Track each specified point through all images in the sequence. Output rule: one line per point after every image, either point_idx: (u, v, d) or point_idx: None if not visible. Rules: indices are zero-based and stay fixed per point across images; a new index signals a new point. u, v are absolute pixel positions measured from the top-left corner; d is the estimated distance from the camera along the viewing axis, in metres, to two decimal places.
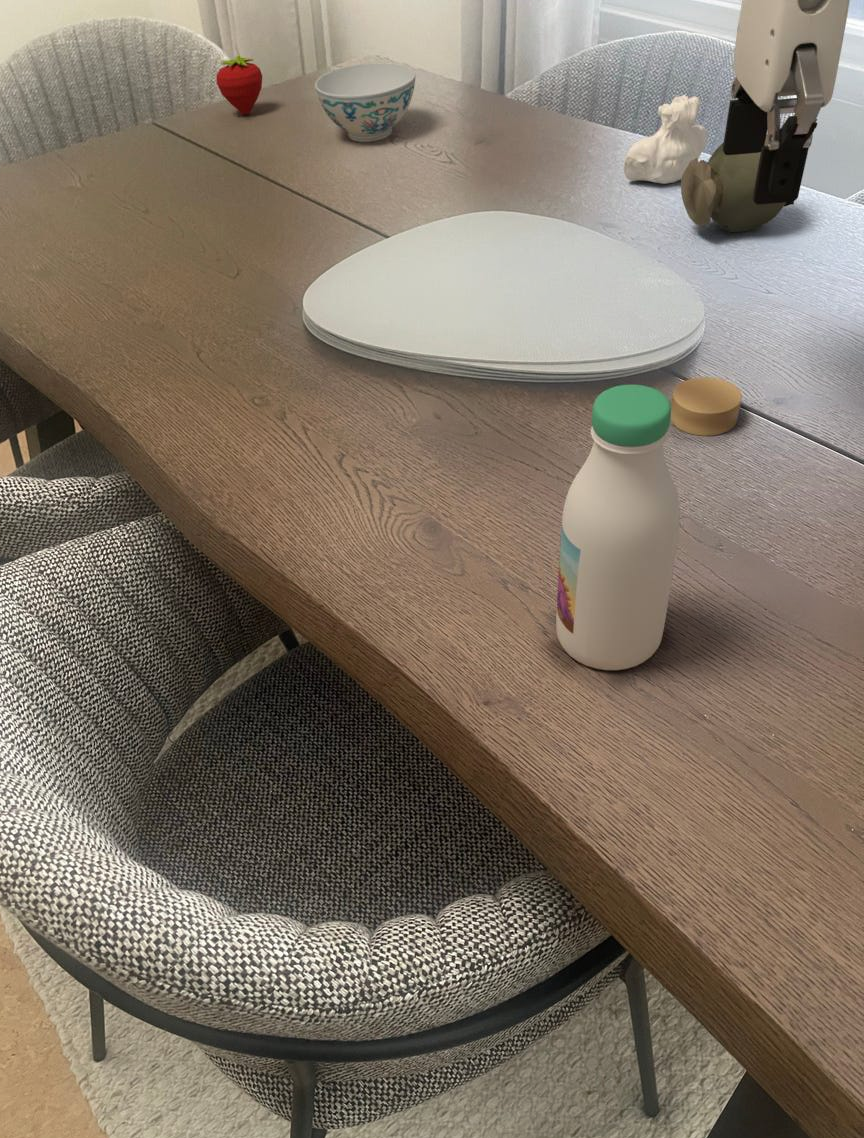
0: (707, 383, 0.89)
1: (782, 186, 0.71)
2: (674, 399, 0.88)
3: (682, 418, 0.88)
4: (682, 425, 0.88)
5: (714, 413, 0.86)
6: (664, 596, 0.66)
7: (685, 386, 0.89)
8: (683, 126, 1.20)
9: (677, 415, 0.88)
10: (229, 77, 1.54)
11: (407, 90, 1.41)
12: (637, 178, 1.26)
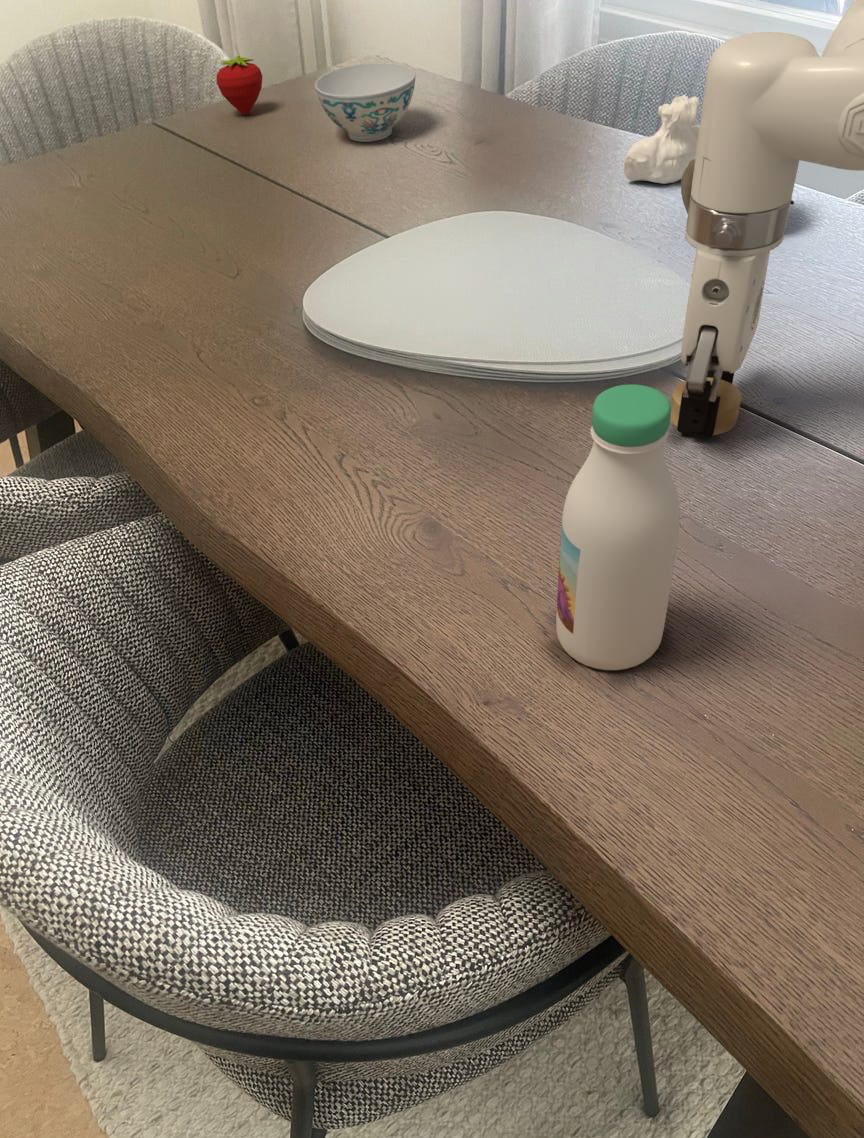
0: None
1: (695, 425, 0.86)
2: (674, 399, 0.88)
3: None
4: None
5: None
6: (664, 596, 0.66)
7: None
8: (683, 126, 1.20)
9: (677, 415, 0.88)
10: (229, 77, 1.54)
11: (407, 90, 1.41)
12: (637, 178, 1.26)
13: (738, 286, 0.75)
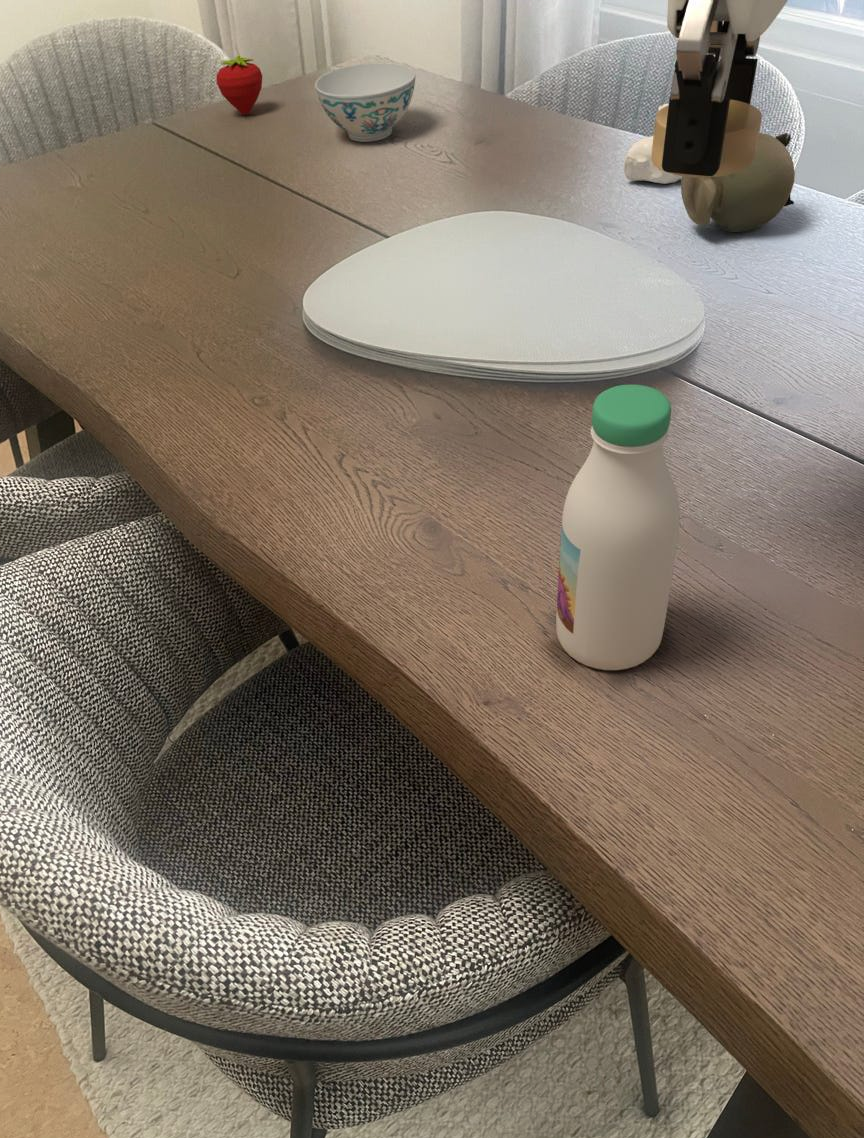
0: None
1: (690, 151, 0.55)
2: (657, 122, 0.57)
3: None
4: None
5: None
6: (664, 596, 0.66)
7: None
8: None
9: (661, 147, 0.57)
10: (229, 77, 1.54)
11: (407, 90, 1.41)
12: (637, 178, 1.26)
13: None
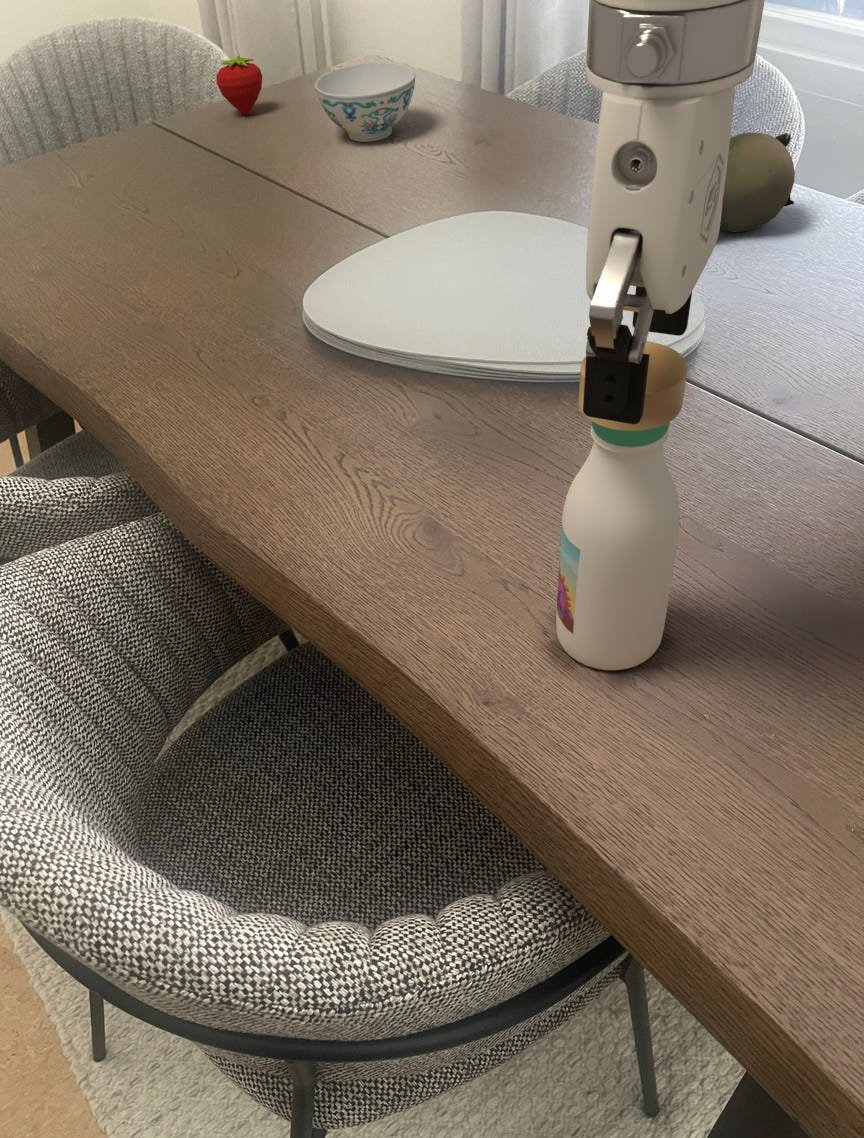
0: None
1: (610, 403, 0.52)
2: (582, 374, 0.56)
3: None
4: None
5: None
6: (664, 596, 0.66)
7: None
8: None
9: None
10: (229, 77, 1.54)
11: (407, 90, 1.41)
12: None
13: (673, 153, 0.43)
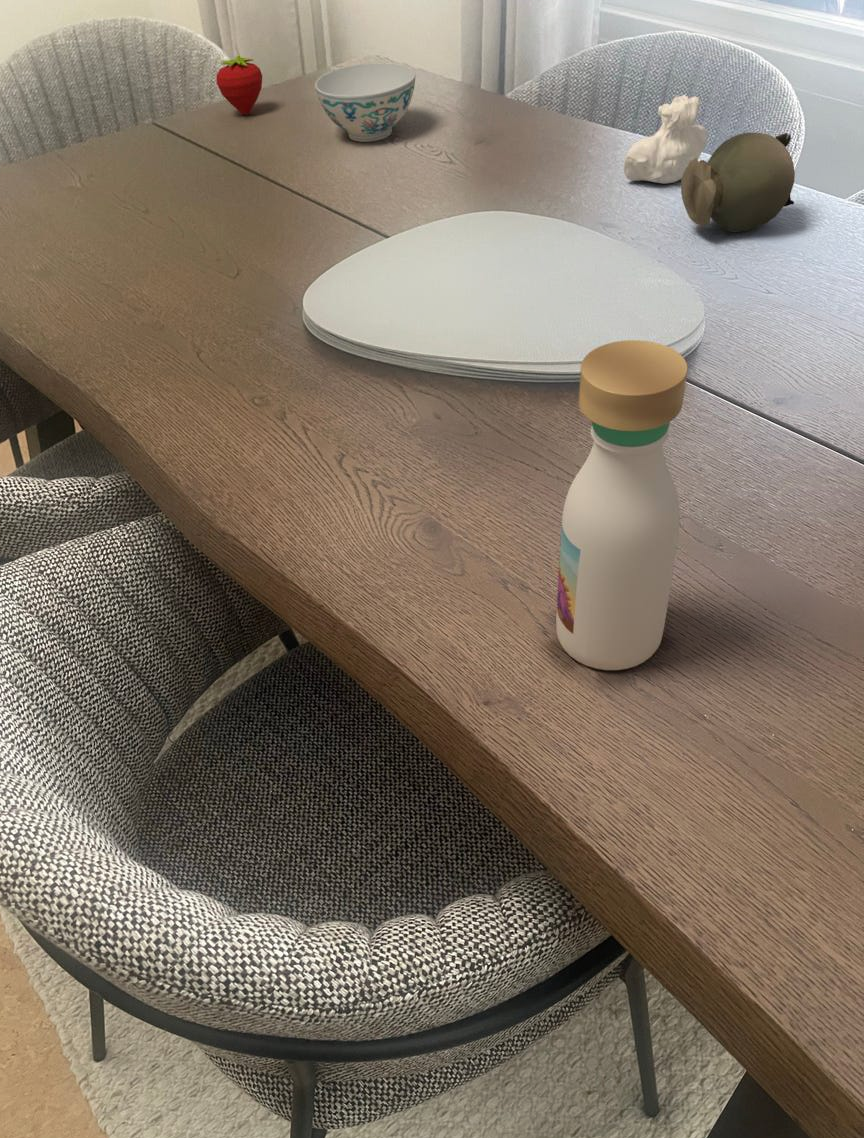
0: (635, 349, 0.57)
1: None
2: (582, 374, 0.56)
3: (594, 403, 0.56)
4: (595, 414, 0.56)
5: (642, 395, 0.54)
6: (664, 596, 0.66)
7: (601, 354, 0.57)
8: (683, 126, 1.20)
9: (586, 398, 0.56)
10: (229, 77, 1.54)
11: (407, 90, 1.41)
12: (637, 178, 1.26)
13: None
